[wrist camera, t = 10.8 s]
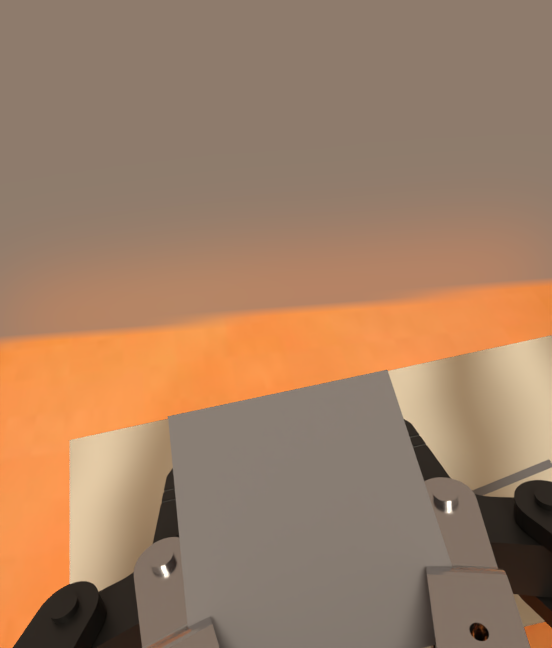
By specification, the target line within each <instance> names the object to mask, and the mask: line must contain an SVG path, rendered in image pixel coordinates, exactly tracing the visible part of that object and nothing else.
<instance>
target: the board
mask: <svg viewBox="0 0 552 648" xmlns="http://www.w3.org/2000/svg"><path fill="white" fill-rule="evenodd" d="M388 373H389V376H390V379H391V382H392V385H393V388H394V391H395V394H396V397H397V400H398V403H399V406H400V409H401V412H402V415H403V419H405V420H407V421H408V422H410V423H411V424H412V425H413V426H414V428H415V429H416V431H417V432H418V433H419V436H421V437H422V439H423V440H424V442H425V443H426V445H427V446H428V447H429V449H430V450H431V451H432V453H433V454H434V456H435V457H436V458H437V460H438V461H439V463H440V464H441V465H442V467H443V468H444V469H445V471H446V472H447V474H448V475H449V476H450V478H451V479H455V480H457V481H460V482H462V483H464V484H465V485H467V486H468V487H469V488H470V489H471V490H472V491H473V492H474V494H477V495H482V496H490V497H514V492H515V490H516V488H517V487H518V486H519V485H520V484H522V483H524V482H527V481H531V480H545V481H551V482H552V336H547V337H542V338H537V339H533V340H528V341H524V342H519V343H514V344H510V345H505V346H501V347H496V348H491V349H487V350H482V351H478V352H473V353H468V354H464V355H459V356H455V357H450V358H445V359H441V360H436V361H432V362H427V363H422V364H418V365H413V366H409V367H404V368H399V369H395V370H390V371H388ZM172 468H173V465H172V454H171V443H170V433H169V422H168V419H165V420H160V421H156V422H151V423H147V424H142V425H137V426H133V427H128V428H124V429H119V430H114V431H110V432H105V433H101V434H96V435H91V436H87V437H82V438H78V439H73V440H70V584H72V583H74V582H79V581H87V582H91V583H93V584H94V585H95V586H96V588H97V589H98V591H101V590H103V589H105V588H107V587H109V586H110V585H112V584H114V583H116V582H118V581H120V580H122V579H124V578H126V577H127V576H129V575H130V574H132V573H133V572H134V567H135V564H136V562H137V560H138V558H139V557H140V556H141V554H142V553H143V552H144V551H145V550H146V549H147V548H148V547H149V546H151V545H152V544H153V540H154V535H155V530H156V525H157V520H158V516H159V511H160V506H161V504H162V496H163V493H164V487H165V482H166V477H167V475H168V474H169V473H170V471H171V470H172ZM513 595H514V598H515V601H516V605H517V608H518V611H519V614H520V617H521V620H522V623H523V626H524V627H525V626H529V625H533V624H537V623H542V622H545V621H544V620H543V619H542V618H541V617H540V616H539V615H538V614H537V613H536V612H535V611H534V610H533V609H532V608H531V607H530V606H529V605H527V604H526V603H525V602H524V601H523V600H522V599H521V597H520V596H519V595H518V594H513ZM424 648H431V646H429V647H424Z"/></svg>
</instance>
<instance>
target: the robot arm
mask: <svg viewBox="0 0 552 648" xmlns="http://www.w3.org/2000/svg"><path fill="white" fill-rule="evenodd" d="M404 422H405V425H406V428H407V431H408V434H409V437H410V440H411V443H412V446H413V449H414V452H415V455H416V458H417V461H418V464H419V467H420V470H421V473H422V476H423V479H424V482H425V485H426V488H427V491H428V494H429V497H430V501H431V504H432V507H433V510H434V513H435V516H436V519H437V522H438V525H439V528H440V531H441V534H442V537H443V540H444V543H445V546H446V549H447V552H448V555H449V558H450V561H451V564H452V567H451V566H426V575H427V584H428V593H429V602H430V611H431V620H432V630H433V635H434V641H435V645H433V646H431V648H530V645H529V642H528V639H527V636H526V633H525V629H524V626H523V623H522V620H521V617H520V614H519V611H518V608H517V605H516V601H515V598H514V595H513V594H518V595H519V596H520V597H521V599H522V600H523V601H524V602H525V603H526V604H527V605H529V606H530V607H531V608H532V609H533V610H534V611H535V612H536V613H537V614H538V615H539V616H540V617H541V618H542V619H543V620H544V621H545V622H546V623H547V624H548V625H549V626H550V627H552V482H551V481H545V480H531V481H527V482H524V483H522V484H520V485H519V486H518V487H517V488H516V490H515V492H514V497H490V496H482V495H477V494H474V492H473V491H472V490H471V489H470V488H469V487H468V486H467V485H465V484H464V483H462V482H460V481H457V480H455V479H451V478H450V476H449V475H448V474H447V472H446V471H445V469H444V468H443V467H442V465H441V464H440V463H439V461H438V460H437V458H436V457H435V456H434V454H433V453H432V451H431V450H430V449H429V447H428V446H427V445H426V443H425V442H424V440H423V439H422V437H421V436H419V433H418V432H417V431H416V429H415V428H414V426H413V425H412V424H411V423H410V422H408V421H407V420H405V419H404ZM13 648H220V645H219V642H218V638H217V635H216V632H215V629H214V626H213V623H212V619H211V616H210V617H208V618H206V619H203V620H201V621H199V622H197V623H195V624H193V625H191V626H189V627H188V624H187V614H186V603H185V592H184V582H183V571H182V560H181V550H180V539H179V528H178V518H177V507H176V497H175V486H174V475H173V468H172V470H171V471H170V473H169V474H168V475H167V477H166V482H165V487H164V493H163V496H162V504H161V506H160V511H159V516H158V520H157V525H156V530H155V535H154V540H153V544H152V545H151V546H149V547H148V548H147V549H146V550H145V551H144V552H143V553H142V554H141V556H140V557H139V558H138V560H137V562H136V564H135V567H134V572H133V573H132V574H130V575H129V576H127V577H126V578H124V579H122V580H120V581H118V582H116V583H114V584H112V585H110V586H109V587H107V588H105V589H103V590H101V591H98V589H97V588H96V586H95V585H94V584H93V583H91V582H87V581H79V582H74V583H72V584H69V585H67V586H65V587H63V588H61V589H60V590H58V591H57V592H55V593H54V594H53V595H52V596H51V597H50V598H48V599H47V601H46V602H45V603H44V604H43V605H42V606H41V608H40V609H39V610H38V612H37V613H36V615H35V616H34V618H33V619H32V621H31V622H30V624H29V625H28V626H27V628H26V629H25V631H24V632H23V634H22V635H21V637H20V638H19V640H18V641H17V642H16V644H15V645H14V647H13Z"/></svg>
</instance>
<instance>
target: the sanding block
mask: <svg viewBox="0 0 552 648" xmlns="http://www.w3.org/2000/svg"><path fill="white" fill-rule="evenodd" d="M168 422H169V433H170V443H171V454H172V465H173V475H174V486H175V497H176V507H177V518H178V528H179V539H180V550H181V560H182V571H183V582H184V592H185V603H186V614H187V624H188V627H189V626H191V625H193V624H195V623H197V622H199V621H201V620H203V619H206V618H208V617H210V616H211V619H212V623H213V626H214V629H215V632H216V635H217V638H218V642H219V645H220V648H424V647H429V646H433V645H435V641H434V635H433V630H432V620H431V611H430V602H429V593H428V584H427V575H426V566H451V567H452V564H451V561H450V558H449V555H448V552H447V549H446V546H445V543H444V540H443V537H442V534H441V531H440V528H439V525H438V522H437V519H436V516H435V513H434V510H433V507H432V504H431V501H430V497H429V494H428V491H427V488H426V485H425V482H424V479H423V476H422V473H421V470H420V467H419V464H418V461H417V458H416V455H415V452H414V449H413V446H412V443H411V440H410V437H409V434H408V431H407V428H406V425H405V422H404V419H403V415H402V412H401V409H400V406H399V403H398V400H397V397H396V394H395V391H394V388H393V385H392V382H391V379H390V376H389V373H388V370H384V371H380V372H375V373H370V374H366V375H361V376H356V377H351V378H347V379H342V380H337V381H333V382H328V383H323V384H319V385H314V386H309V387H304V388H300V389H295V390H290V391H286V392H281V393H276V394H271V395H267V396H262V397H257V398H253V399H248V400H243V401H239V402H234V403H229V404H224V405H220V406H215V407H210V408H206V409H201V410H196V411H192V412H187V413H182V414H177V415H173V416H168Z"/></svg>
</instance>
